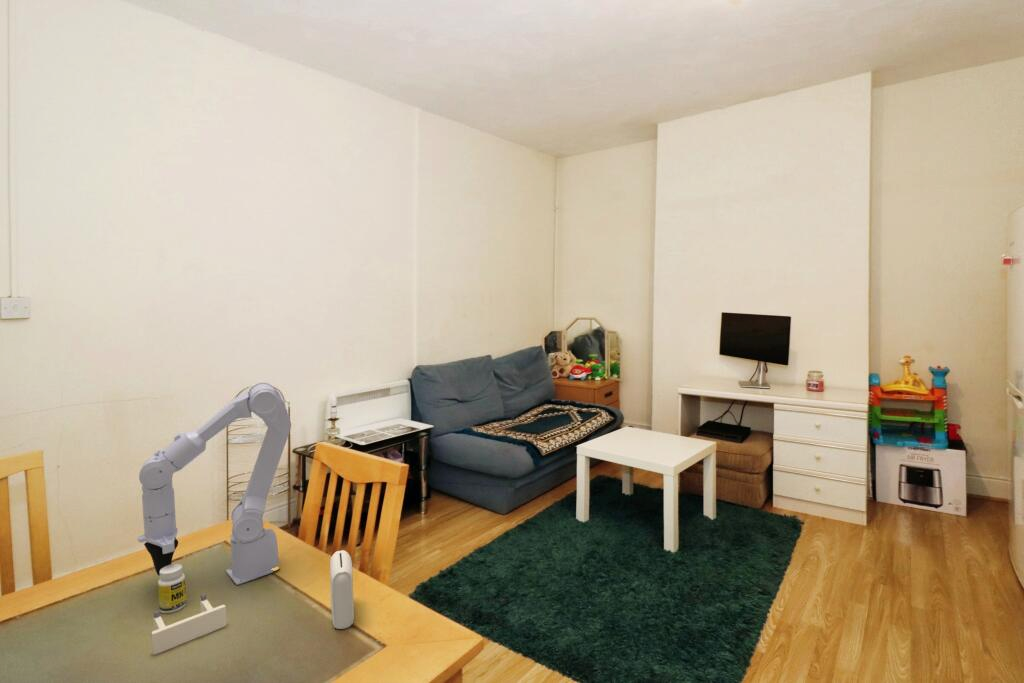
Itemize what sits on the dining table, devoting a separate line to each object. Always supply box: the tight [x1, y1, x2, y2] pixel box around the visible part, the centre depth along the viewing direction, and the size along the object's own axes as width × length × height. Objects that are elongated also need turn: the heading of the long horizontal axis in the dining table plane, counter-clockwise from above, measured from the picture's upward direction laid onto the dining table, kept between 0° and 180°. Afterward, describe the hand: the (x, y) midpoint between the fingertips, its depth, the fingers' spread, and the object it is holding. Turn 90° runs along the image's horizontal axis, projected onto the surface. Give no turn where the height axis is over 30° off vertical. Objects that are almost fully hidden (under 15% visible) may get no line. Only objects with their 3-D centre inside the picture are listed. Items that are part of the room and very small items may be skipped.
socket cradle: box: [151, 593, 227, 656], centre depth 102 cm, size 12×8×4 cm, turn 134°
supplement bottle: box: [157, 563, 187, 614], centre depth 110 cm, size 5×5×8 cm
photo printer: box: [329, 549, 355, 630], centre depth 107 cm, size 10×4×12 cm, turn 20°
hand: (163, 573), depth 115 cm, fingers closed
